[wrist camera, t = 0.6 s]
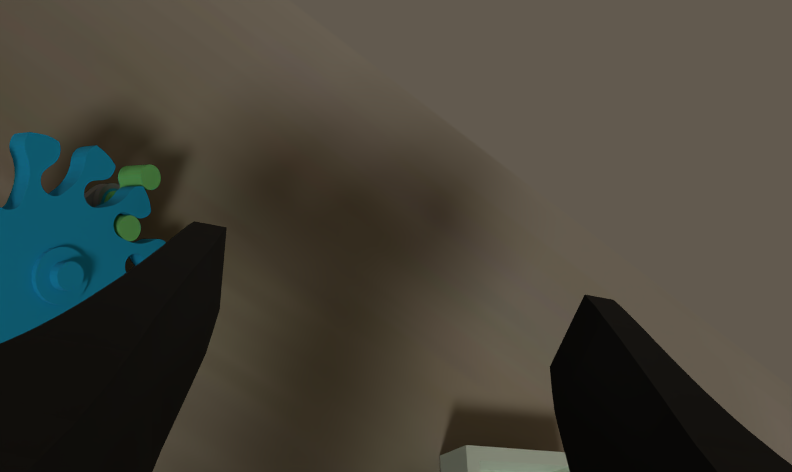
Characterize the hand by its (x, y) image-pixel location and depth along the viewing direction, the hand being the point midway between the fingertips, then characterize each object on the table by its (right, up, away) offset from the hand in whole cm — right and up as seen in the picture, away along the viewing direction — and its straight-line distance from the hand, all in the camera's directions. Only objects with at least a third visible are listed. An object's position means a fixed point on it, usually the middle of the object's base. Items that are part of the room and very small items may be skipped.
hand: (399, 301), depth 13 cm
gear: (-14, -2, +13) cm, 19 cm away
